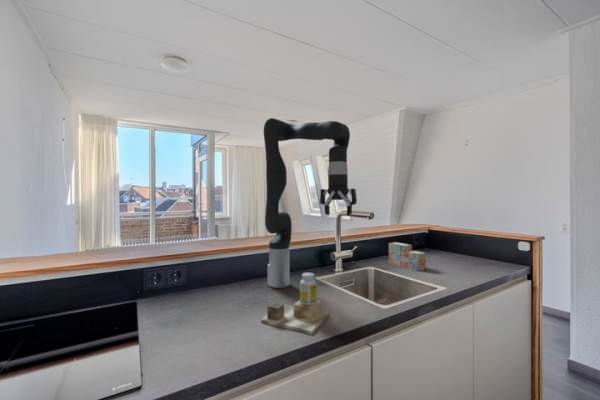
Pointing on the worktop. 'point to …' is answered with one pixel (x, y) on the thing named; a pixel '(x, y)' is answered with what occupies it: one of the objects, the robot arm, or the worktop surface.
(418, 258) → the stack of blocks
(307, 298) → the supplement bottle
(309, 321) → the birch board
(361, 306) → the worktop surface
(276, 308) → the walnut block
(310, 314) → the oak pedestal
